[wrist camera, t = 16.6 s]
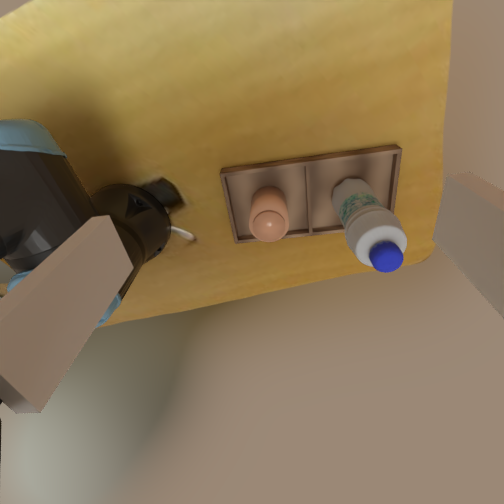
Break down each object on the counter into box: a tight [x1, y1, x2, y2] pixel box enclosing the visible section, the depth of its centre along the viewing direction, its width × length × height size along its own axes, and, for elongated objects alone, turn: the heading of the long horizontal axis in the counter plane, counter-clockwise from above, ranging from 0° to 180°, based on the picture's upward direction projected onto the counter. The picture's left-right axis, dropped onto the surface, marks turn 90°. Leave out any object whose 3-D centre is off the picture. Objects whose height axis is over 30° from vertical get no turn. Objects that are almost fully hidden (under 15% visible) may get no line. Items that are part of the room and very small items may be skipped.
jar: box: [249, 186, 289, 242], centre depth 46 cm, size 6×6×9 cm
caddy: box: [220, 145, 402, 244], centre depth 49 cm, size 28×13×2 cm, turn 99°
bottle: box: [332, 179, 407, 272], centre depth 40 cm, size 7×7×20 cm
